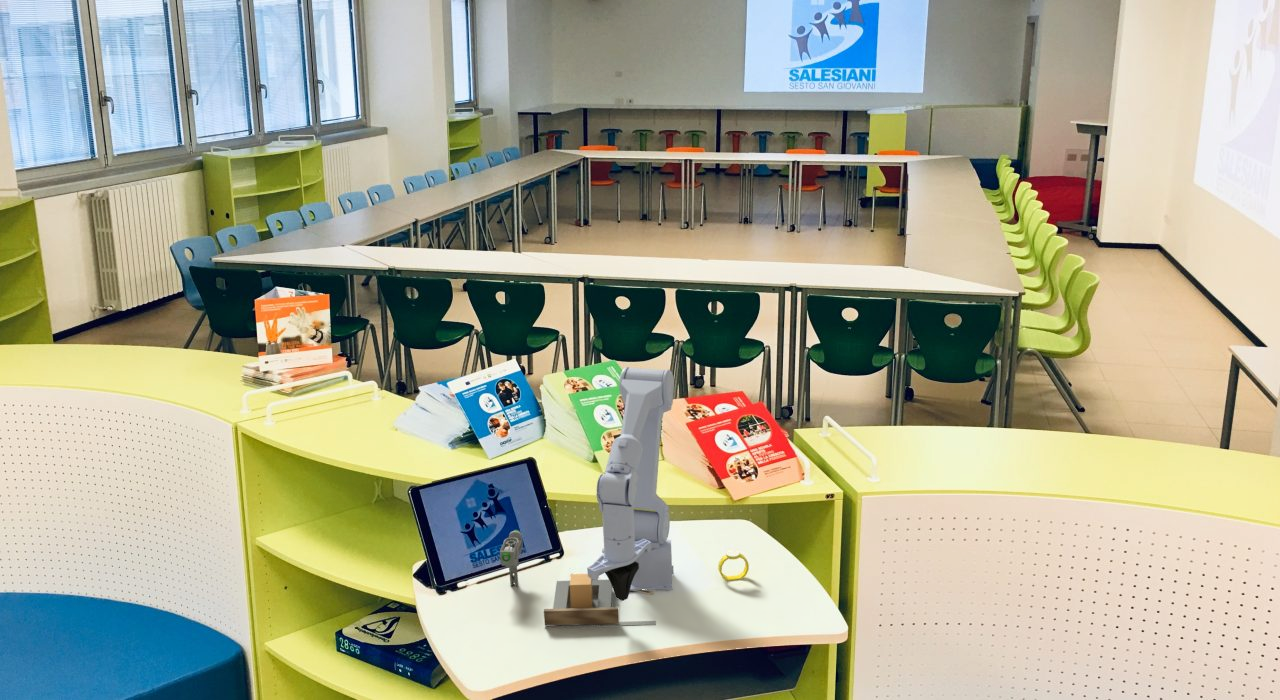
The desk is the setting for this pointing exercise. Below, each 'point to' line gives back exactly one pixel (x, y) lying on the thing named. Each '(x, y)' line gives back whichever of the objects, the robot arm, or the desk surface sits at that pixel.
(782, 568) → the desk surface
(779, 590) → the desk surface
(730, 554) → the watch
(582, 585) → the jaw block
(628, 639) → the desk surface
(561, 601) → the housing
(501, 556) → the mechanical component
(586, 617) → the wooden plank
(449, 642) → the desk surface
